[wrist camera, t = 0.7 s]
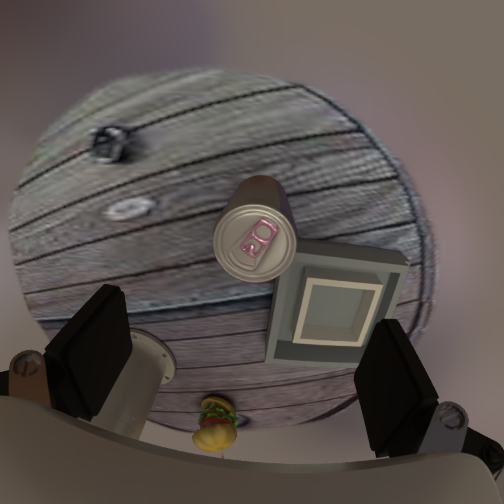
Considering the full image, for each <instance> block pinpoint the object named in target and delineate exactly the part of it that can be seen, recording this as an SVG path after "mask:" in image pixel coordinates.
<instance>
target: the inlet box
mask: <svg viewBox="0 0 504 504" xmlns="http://www.w3.org/2000/svg"><path fill="white" fill-rule="evenodd" d="M410 263H411V262H410V261H409V260H408V259H407V258H406V257H405V256H404V255H403V254H402V253H401V252H400V251H395V250H388V249H380V248H373V247H366V246H359V245H351V244H344V243H336V242H329V241H321V240H313V239H305V238H298V244H297V249H296V252H295V256H294V258H293V261H292V262H291V264H290V266H289V267H288V268H287V269H286V270H285V271H284V272H283V273H282V274H281V275H279V276H278V277H276V279H275V285H274V291H273V298H272V304H271V310H270V316H269V322H268V328H267V334H266V340H265V363H268V364H279V365H292V366H308V367H330V368H357V367H358V365H359V363H360V360H361V358H362V356H363V354H364V351H365V349H366V347H367V344H368V342H369V339H370V337H371V335H372V332H373V330H374V327H375V325H376V323H377V322H380V321H381V320H382V319H383V318H384V319H391V317H392V315H393V312H394V310H395V307H396V304H397V302H398V299H399V296H400V293H401V290H402V287H403V285H404V282H405V279H406V276H407V272H408V269H409V266H410Z"/></svg>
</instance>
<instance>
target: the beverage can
mask: <svg viewBox="0 0 504 504" xmlns="http://www.w3.org/2000/svg"><path fill="white" fill-rule="evenodd" d="M297 244H298V233H297V228H296V225H295V221H294V218H293V215H292V212H291V208H290V205H289V202H288V199H287V196H286V193H285V190H284V188H283V187H282V186H281V184H280V183H279V182H278V181H276V180H275V179H273V178H271V177H268V176H263V175H258V176H253V177H250V178H248V179H246V180H245V181H243V182H242V183H241V184H240V186H239V187H238V189H237V190H236V192H235V193H234V194H233V196H232V197H231V199H230V200H229V202H228V203H227V205H226V206H225V208H224V209H223V211H222V212H221V214H220V216H219V217H218V219H217V221H216V223H215V226H214V230H213V250H214V254H215V257H216V259H217V261H218V263H219V264H220V265H221V267H222V268H223V269H224V270H225V271H226V272H227V273H228V274H230V275H231V276H233V277H235V278H237V279H239V280H242V281H246V282H253V283H258V282H265V281H269V280H271V279H274V278H276V277H278V276H279V275H281V274H282V273H283V272H284V271H285V270H286V269H287V268H288V267H289V266H290V264H291V262H292V261H293V258H294V256H295V252H296V249H297Z"/></svg>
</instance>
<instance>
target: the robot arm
mask: <svg viewBox="0 0 504 504" xmlns="http://www.w3.org/2000/svg"><path fill="white" fill-rule="evenodd" d="M45 351H46V352H45V353H44V355H42V354H41V353H39V352H38V351H34V350H25V351H22V352H20V353H18V354H17V355H16V356H15V357H14V358H13V359H12V360H11V362H10V366H9V370H7V371H3V372H0V504H504V450H503V448H502V446H501V445H500V444H499V443H497V442H496V441H494V440H492V439H490V438H488V437H486V436H484V435H482V434H480V433H479V432H477V431H475V430H473V429H471V428H469V427H468V423H469V419H468V415H467V413H466V412H465V410H464V409H463V408H462V407H461V406H460V405H458V404H457V403H454V402H450V401H445V402H442V403H440V404H439V403H438V401H437V399H438V398H439V396H438V394H437V392H436V390H435V388H434V386H433V384H432V382H431V380H430V378H429V376H428V374H427V372H426V370H425V368H424V366H423V365H422V363H421V361H420V359H419V357H418V355H417V354H416V352H415V350H414V348H413V346H412V344H411V342H410V341H409V339H408V337H407V335H406V334H405V332H404V330H403V328H402V327H401V325H400V323H399V321H398V320H397V319H384V318H383V319H382V320H381V321H380V322H377V323H376V325H375V327H374V330H373V332H372V335H371V337H370V339H369V342H368V344H367V347H366V349H365V351H364V354H363V356H362V358H361V360H360V363H359V365H358V367H357V369H356V371H355V374H354V383H355V387H356V390H357V394H358V398H359V402H360V406H361V410H362V414H363V418H364V422H365V426H366V430H367V435H368V439H369V444H370V448H371V450H372V451H375V455H376V458H380V457H386V456H389V458H385V459H377V460H368V461H357V462H346V463H330V464H278V463H261V462H249V461H239V460H231V459H223V458H216V457H209V456H204V455H198V454H193V453H188V452H183V451H178V450H173V449H169V448H165V447H161V446H157V445H153V444H149V443H146V442H142V441H139V438H140V435H141V433H142V430H143V428H144V425H145V422H146V420H147V417H148V415H149V412H150V409H151V407H152V404H153V402H154V399H155V397H156V394H157V392H158V389H159V387H160V385H164V384H166V383H168V382H170V381H171V380H172V378H173V377H174V374H175V372H176V362H175V359H174V357H173V355H172V353H171V352H170V350H169V349H168V348H167V347H166V346H165V345H164V344H163V343H162V342H161V341H159V340H158V339H157V338H155V337H154V336H152V335H150V334H148V333H146V332H143V331H140V330H136V329H130V328H129V322H128V316H127V309H126V302H125V295H124V292H123V291H121V289H120V287H118V286H114V285H109V284H104V285H103V286H102V287H101V288H100V289H99V290H98V291H97V292H96V293H95V294H94V295H93V296H92V297H91V298H90V299H89V300H88V301H87V302H86V303H85V304H84V305H83V307H82V308H81V309H80V310H79V311H78V312H77V313H76V314H75V315H74V316H73V317H72V318H71V319H70V320H69V322H68V323H67V324H66V325H65V326H64V327H63V328H62V329H61V330H60V332H59V333H58V334H57V335H56V336H55V337H54V338H53V339H52V341H51V342H50V343H49V344H48V345H47V346H46V348H45Z"/></svg>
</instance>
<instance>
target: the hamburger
mask: <svg viewBox="0 0 504 504" xmlns="http://www.w3.org/2000/svg"><path fill="white" fill-rule="evenodd" d="M201 404H202V405H201V406H202V409H203V410H202V411H203V414H200V418H199V419H198V421H199V423H198V424H199V425H200V428H201V429H200V430H198V429H197V432H195V433H194V435H193V436H192V439H193V442H194V444H195V445H196V446H197V447H198V448H199V449H201V450H204V451H208V452H216V451H220V450H221V451H222V450H224V449H226V448H228V447H229V446H231V445H232V444H233V443H234V441H235V440H236V437H237V431H236V428H237V424H236V423H237V420H235V418H236V413H235V410H234V408H233V407H232V406H231V404H229V403H228V402H227V401H226V400H224V399H222V398H220V397H216V396H210V397H207V398H206V399H204V400H203V401H202V403H201ZM221 458H223V459H224V456H223V453H222V457H221Z"/></svg>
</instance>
